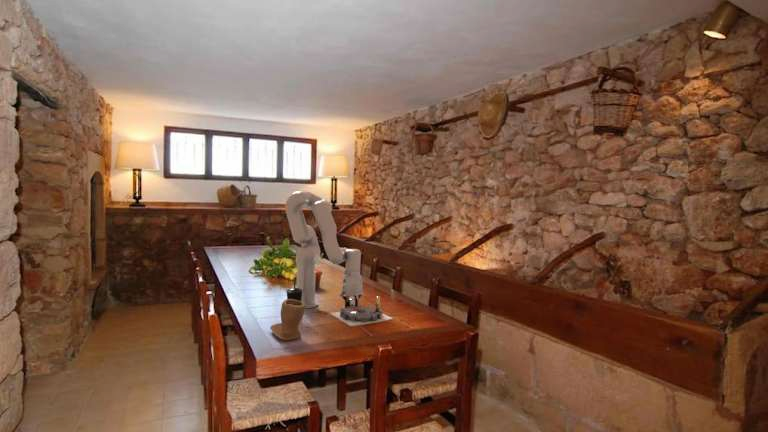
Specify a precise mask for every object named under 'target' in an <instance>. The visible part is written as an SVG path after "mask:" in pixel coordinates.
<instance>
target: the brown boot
mask: <svg viewBox="0 0 768 432" xmlns="http://www.w3.org/2000/svg"><path fill="white" fill-rule="evenodd" d="M305 310H306V308H305V304H304V303H303V302H301V301H297V300H293V299H287V298H286V299H285V300H283V301H282V303H281V308H280V318H281V319H280V320H281V322H280V323H275V324H272V325H270V330H271V331H272V333H273V334H274V335H275V336H276V337H277V338H278V339H280V340H282V341H283V340H284V341H290V340H297V339H299V338H301V336H302V334H301V332H300V331H299V326H300V325H301V322H302V319H303V317H304V314H305V313H306V312H305Z"/></svg>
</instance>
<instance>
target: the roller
mask: <svg viewBox="0 0 768 432" xmlns="http://www.w3.org/2000/svg"><path fill="white" fill-rule="evenodd" d="M355 300H356V299H355V298H354V297H349V302H350V305H349V306H352V307H353V306H355Z"/></svg>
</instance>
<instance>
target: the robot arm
mask: <svg viewBox="0 0 768 432" xmlns="http://www.w3.org/2000/svg"><path fill="white" fill-rule="evenodd" d="M286 199H287V200H286V202H285V207H284V208H285V213H286V217H287V221H288V225H289V228H290V232H291V235H292V238H293V241H294V242H295V243H297V244H299V245H301V247H300V248H298V250H297V252H296V255H295V259H296V260H295V262H296V272H297V274H296V288H299V289H302V290H303V292H302V299H301V302H303V303H304V304H305V309H311V308H316V307H317V306H318V305H319V304H318V301H316V290H315V269H316V264H315V263H316V262H315V261H316V260H318V258H320V256H321V247H320V245H319V239H318V237H317V233H316V231H315V228H314V227H313V226H312V225H309V224H307V221H306V219H305V214H304V212H303V211H302V210H303V208H306V209H308V210H309V211H312V214H313V215H314V218H315V221H316V224H317V226H318V228H319V230H320V234H321V235H320V236H321V240H322V244H323V248H324V251H325V253H326V256H327V258H328V260H329V261H330V263H332V264H334V265H339V264H341V263H343V262H345V271H343V272H342V273H343V275H344V276H343V279H342V286H341V287H342V288H341V291H340V293H339V295H338V296H339V297H340V298H342V299H343V300H344V308H347V307H348V306H349V305H350V302H349V298H351V296H353V298H355V299H356V300H355V306H356V305H359V300H360V299H361V298H362V296H363V295H364V294H365V293H364V292H365V291H364V289H363V288H364V287H363V277H362V275H361V259H362V258H361V257H362V252H361V250H360V249H357V248H345V247H340V245H339V243H338V238H337V232H338V230H337V229H338V228H337V224H336V221H335V219H334V217H333V214H332V211H333V207H332V204H331V202H329V201H328V200H326V199H324V198H323V197H320V196H319V195H316V194H314V193H312V192H309V191H307V190H306V191H303V190H300V191H299V190H298V191H294V192H293V193H292V194H290V195H289V196H288V198H286Z"/></svg>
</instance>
